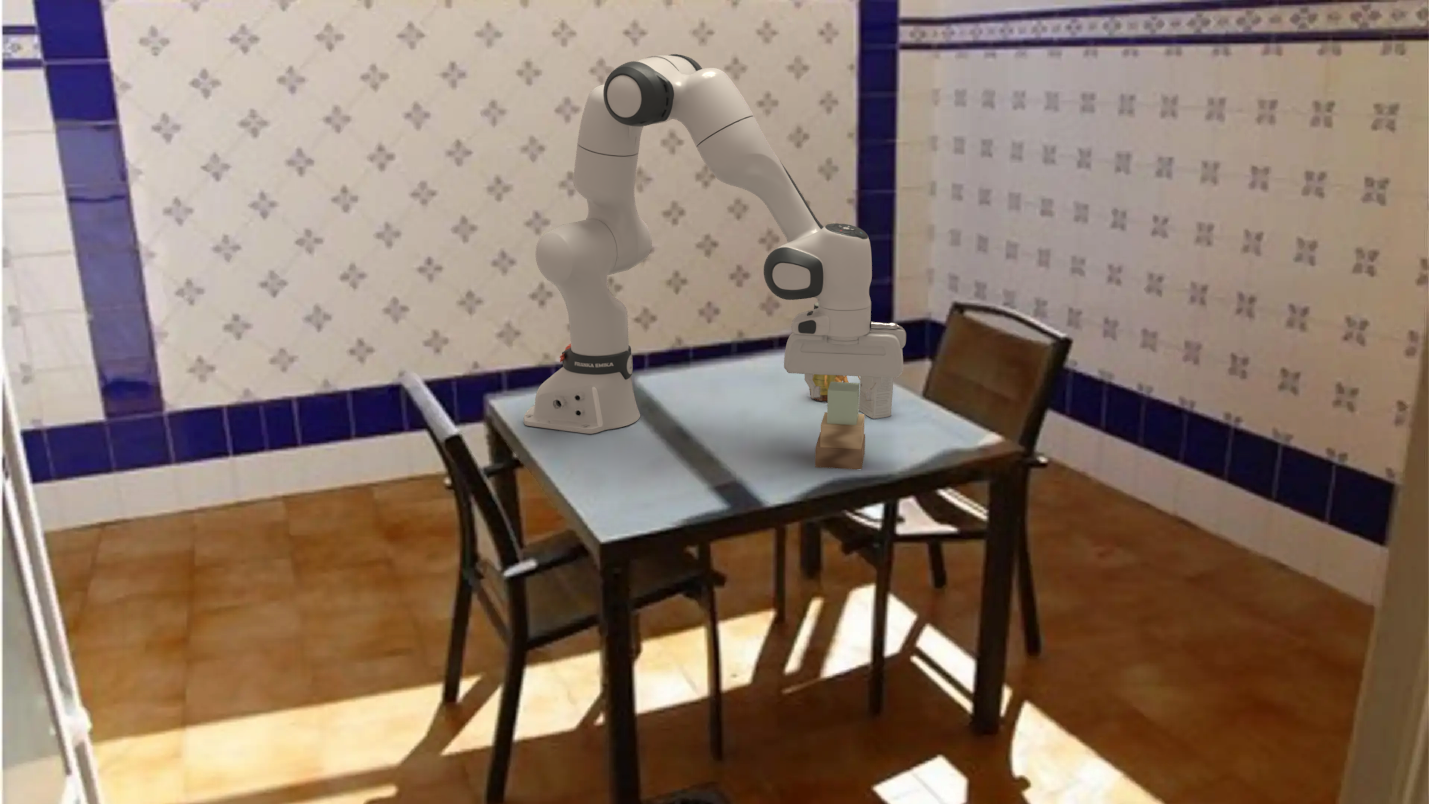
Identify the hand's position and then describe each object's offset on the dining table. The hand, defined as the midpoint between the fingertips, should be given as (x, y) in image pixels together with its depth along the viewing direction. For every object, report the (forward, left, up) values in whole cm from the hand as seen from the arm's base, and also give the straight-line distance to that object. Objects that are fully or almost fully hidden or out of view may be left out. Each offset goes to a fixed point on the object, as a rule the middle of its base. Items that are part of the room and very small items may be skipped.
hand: (842, 398), depth 205 cm
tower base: (0, 0, -12) cm, 12 cm away
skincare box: (+4, +26, -12) cm, 29 cm away
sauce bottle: (-7, +34, -12) cm, 37 cm away
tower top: (0, 0, -8) cm, 8 cm away
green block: (0, 0, -4) cm, 4 cm away
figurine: (-2, +22, -12) cm, 25 cm away
